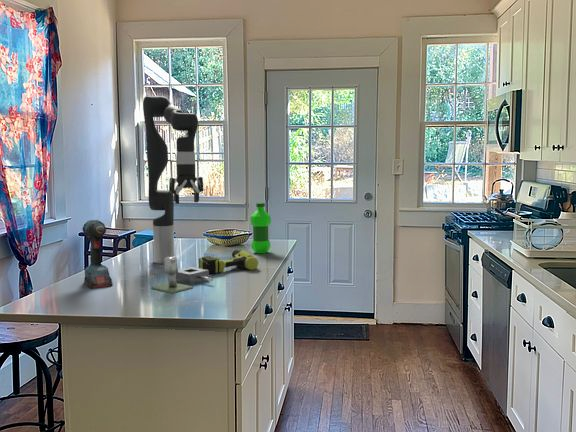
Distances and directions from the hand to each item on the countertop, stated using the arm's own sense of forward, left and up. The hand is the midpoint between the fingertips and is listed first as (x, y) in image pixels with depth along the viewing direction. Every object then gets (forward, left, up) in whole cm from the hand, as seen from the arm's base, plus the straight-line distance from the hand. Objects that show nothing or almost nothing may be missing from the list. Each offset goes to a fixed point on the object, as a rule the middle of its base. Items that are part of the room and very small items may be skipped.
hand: (186, 202), depth 233 cm
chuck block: (+12, -6, -30) cm, 33 cm away
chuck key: (+12, -19, -29) cm, 37 cm away
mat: (+12, -19, -30) cm, 38 cm away
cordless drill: (+1, +20, -31) cm, 37 cm away
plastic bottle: (-10, +57, -30) cm, 65 cm away
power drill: (-16, -32, -30) cm, 47 cm away
